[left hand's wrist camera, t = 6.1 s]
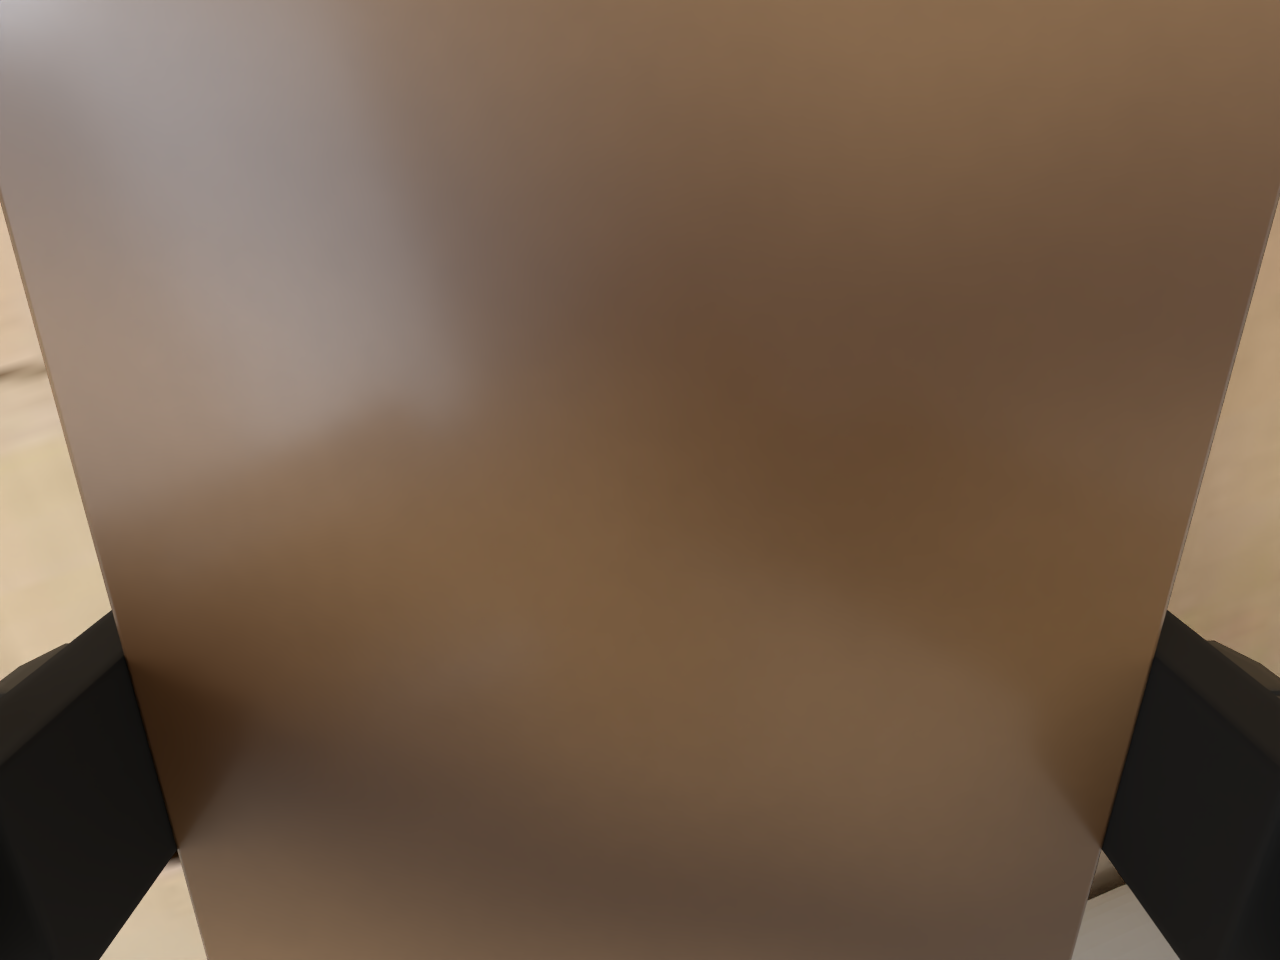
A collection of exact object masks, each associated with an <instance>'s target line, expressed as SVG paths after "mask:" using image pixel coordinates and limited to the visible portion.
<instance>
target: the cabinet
mask: <svg viewBox="0 0 1280 960" xmlns="http://www.w3.org/2000/svg"><path fill="white" fill-rule="evenodd" d="M1279 197H1280V0H0V202H1V206H2V209H3V213H4V217H5V220H6V224H7V228H8V231H9V235H10V239H11V242H12V246H13V250H14V253H15V257H16V261H17V264H18V268H19V272H20V275H21V279H22V283H23V286H24V290H25V294H26V297H27V301H28V305H29V308H30V312H31V316H32V319H33V323H34V327H35V330H36V334H37V338H38V341H39V345H40V349H41V352H42V356H43V359H44V363H45V367H46V370H47V374H48V378H49V381H50V385H51V389H52V392H53V396H54V400H55V403H56V407H57V411H58V414H59V418H60V422H61V425H62V429H63V433H64V436H65V440H66V444H67V447H68V451H69V455H70V458H71V462H72V466H73V469H74V473H75V477H76V480H77V484H78V488H79V491H80V495H81V499H82V502H83V506H84V510H85V513H86V517H87V521H88V524H89V528H90V532H91V535H92V539H93V542H94V546H95V550H96V553H97V557H98V561H99V564H100V568H101V572H102V575H103V579H104V583H105V586H106V590H107V594H108V597H109V601H110V605H111V608H112V612H113V616H114V619H115V623H116V627H117V630H118V634H119V638H120V641H121V645H122V649H123V652H124V656H125V660H126V663H127V667H128V671H129V674H130V678H131V682H132V685H133V689H134V693H135V696H136V700H137V704H138V707H139V711H140V714H141V718H142V722H143V725H144V729H145V733H146V736H147V740H148V744H149V747H150V751H151V755H152V758H153V762H154V766H155V769H156V773H157V777H158V780H159V784H160V788H161V791H162V795H163V799H164V802H165V806H166V810H167V813H168V817H169V821H170V824H171V828H172V832H173V835H174V839H175V843H176V846H177V850H178V854H179V857H180V861H181V865H182V868H183V872H184V876H185V879H186V883H187V887H188V890H189V894H190V897H191V901H192V905H193V908H194V912H195V916H196V919H197V923H198V927H199V930H200V934H201V938H202V941H203V945H204V949H205V952H206V956H207V960H1071V959H1072V955H1073V952H1074V948H1075V944H1076V941H1077V937H1078V933H1079V930H1080V926H1081V922H1082V919H1083V915H1084V912H1085V908H1086V904H1087V901H1088V897H1089V893H1090V890H1091V886H1092V882H1093V879H1094V875H1095V871H1096V868H1097V864H1098V860H1099V857H1100V853H1101V849H1102V846H1103V842H1104V838H1105V835H1106V831H1107V827H1108V824H1109V820H1110V816H1111V813H1112V809H1113V805H1114V802H1115V798H1116V794H1117V791H1118V787H1119V783H1120V780H1121V776H1122V772H1123V769H1124V765H1125V761H1126V758H1127V754H1128V750H1129V747H1130V743H1131V739H1132V736H1133V732H1134V728H1135V725H1136V721H1137V717H1138V714H1139V710H1140V706H1141V703H1142V699H1143V695H1144V692H1145V688H1146V684H1147V681H1148V677H1149V673H1150V670H1151V666H1152V662H1153V659H1154V655H1155V651H1156V648H1157V644H1158V640H1159V637H1160V633H1161V629H1162V626H1163V622H1164V618H1165V615H1166V611H1167V607H1168V604H1169V600H1170V596H1171V593H1172V589H1173V585H1174V582H1175V578H1176V574H1177V571H1178V567H1179V563H1180V560H1181V556H1182V552H1183V549H1184V545H1185V541H1186V538H1187V534H1188V530H1189V527H1190V523H1191V519H1192V516H1193V512H1194V508H1195V505H1196V501H1197V497H1198V494H1199V490H1200V486H1201V483H1202V479H1203V475H1204V472H1205V468H1206V464H1207V461H1208V457H1209V453H1210V450H1211V446H1212V442H1213V439H1214V435H1215V431H1216V428H1217V424H1218V420H1219V417H1220V413H1221V409H1222V406H1223V402H1224V398H1225V395H1226V391H1227V387H1228V384H1229V380H1230V376H1231V373H1232V369H1233V366H1234V362H1235V358H1236V355H1237V351H1238V347H1239V344H1240V340H1241V336H1242V333H1243V329H1244V325H1245V322H1246V318H1247V314H1248V311H1249V307H1250V303H1251V300H1252V296H1253V292H1254V289H1255V285H1256V281H1257V278H1258V274H1259V270H1260V267H1261V263H1262V259H1263V256H1264V252H1265V248H1266V245H1267V241H1268V237H1269V234H1270V230H1271V226H1272V223H1273V219H1274V215H1275V212H1276V208H1277V204H1278V201H1279Z"/></svg>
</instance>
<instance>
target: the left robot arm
mask: <svg viewBox="0 0 1280 960" xmlns="http://www.w3.org/2000/svg"><path fill="white" fill-rule="evenodd" d="M176 850H177V846H176V843H175V839H174V835H173V832H172V828H171V824H170V821H169V817H168V813H167V810H166V806H165V802H164V799H163V795H162V791H161V788H160V784H159V780H158V777H157V773H156V769H155V766H154V762H153V758H152V755H151V751H150V747H149V744H148V740H147V736H146V733H145V729H144V725H143V722H142V718H141V714H140V711H139V707H138V704H137V700H136V696H135V693H134V689H133V685H132V682H131V678H130V674H129V671H128V667H127V663H126V660H125V656H124V652H123V649H122V645H121V641H120V638H119V634H118V630H117V627H116V623H115V619H114V616H113V612H112V610H111V611H110V612H109V613H107V614H106V615H105V616H104V617H102V618H101V619H100V620H99V621H97V622H96V623H95V624H93V625H92V626H91V627H90V628H88V629H87V630H86V631H85V632H83V633H82V634H81V635H79V636H78V637H77V638H76V639H74V640H73V641H72V642H71V643H69V644H64V645H62V646H60V647H58V648H56V649H54V650H52V651H50V652H48V653H46V654H44V655H42V656H40V657H38V658H36V659H34V660H32V661H30V662H28V663H26V664H24V665H22V666H20V667H18V668H17V669H16V670H14V671H13V672H12V673H10V674H9V675H8V676H6V677H5V678H4V679H2V680H1V681H0V960H99V959H100V958H101V956H102V955H103V954H104V952H105V951H106V949H107V948H108V946H109V945H110V944H111V942H112V941H113V939H114V938H115V937H116V935H117V934H118V932H119V931H120V929H121V928H122V927H123V925H124V924H125V922H126V921H127V920H128V918H129V917H130V915H131V914H132V912H133V911H134V910H135V908H136V907H137V905H138V904H139V903H140V901H141V900H142V898H143V897H144V895H145V894H146V893H147V891H148V890H149V888H150V887H151V886H152V884H153V883H154V881H155V880H156V878H157V877H158V876H159V874H160V873H161V871H162V870H163V869H164V867H165V866H166V864H167V863H168V861H169V860H170V859H171V857H172V856H173V854H174V853H175V852H176ZM1102 850H1103V851H1104V853H1105V854H1106V856H1107V857H1108V858H1109V860H1110V861H1111V863H1112V864H1113V866H1114V867H1115V868H1116V870H1117V871H1118V873H1119V874H1120V875H1121V877H1122V878H1123V880H1124V881H1125V883H1126V884H1127V885H1128V887H1129V888H1130V890H1131V891H1132V892H1133V894H1134V895H1135V897H1136V898H1137V900H1138V901H1139V902H1140V904H1141V905H1142V907H1143V908H1144V909H1145V911H1146V912H1147V914H1148V915H1149V917H1150V918H1151V919H1152V921H1153V922H1154V924H1155V925H1156V926H1157V928H1158V929H1159V931H1160V932H1161V934H1162V935H1163V936H1164V938H1165V939H1166V941H1167V942H1168V943H1169V945H1170V946H1171V948H1172V949H1173V951H1174V952H1175V953H1176V955H1177V956H1178V958H1179V959H1180V960H1280V678H1279V677H1278V676H1276V675H1275V674H1274V673H1272V672H1271V671H1270V670H1268V669H1267V668H1266V667H1264V666H1263V665H1262V664H1260V663H1258V662H1256V661H1254V660H1252V659H1250V658H1248V657H1246V656H1244V655H1242V654H1240V653H1238V652H1236V651H1234V650H1232V649H1230V648H1228V647H1226V646H1224V645H1222V644H1220V643H1218V642H1216V641H1206V640H1205V639H1203V638H1202V637H1201V636H1200V635H1198V634H1197V633H1196V632H1194V631H1193V630H1192V629H1191V628H1189V627H1188V626H1187V625H1186V624H1184V623H1183V622H1182V621H1180V620H1179V619H1178V618H1177V617H1175V616H1174V615H1173V614H1172V613H1170V612H1169V611H1168V610H1167V611H1166V615H1165V618H1164V622H1163V626H1162V629H1161V633H1160V637H1159V640H1158V644H1157V648H1156V651H1155V655H1154V659H1153V662H1152V666H1151V670H1150V673H1149V677H1148V681H1147V684H1146V688H1145V692H1144V695H1143V699H1142V703H1141V706H1140V710H1139V714H1138V717H1137V721H1136V725H1135V728H1134V732H1133V736H1132V739H1131V743H1130V747H1129V750H1128V754H1127V758H1126V761H1125V765H1124V769H1123V772H1122V776H1121V780H1120V783H1119V787H1118V791H1117V794H1116V798H1115V802H1114V805H1113V809H1112V813H1111V816H1110V820H1109V824H1108V827H1107V831H1106V835H1105V838H1104V842H1103V846H1102Z"/></svg>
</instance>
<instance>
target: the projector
mask: <svg viewBox="0 0 1280 960" xmlns="http://www.w3.org/2000/svg"><path fill="white" fill-rule="evenodd" d="M1071 960H1180V959H1179V958H1178V956H1177V955H1176V953H1175V952H1174V951H1173V949H1172V948H1171V946H1170V945H1169V943H1168V942H1167V941H1166V939H1165V938H1164V936H1163V935H1162V934H1161V932H1160V931H1159V929H1158V928H1157V926H1156V925H1155V924H1154V922H1153V921H1152V919H1151V918H1150V917H1149V915H1148V914H1147V912H1146V911H1145V909H1144V908H1143V907H1142V905H1141V904H1140V902H1139V901H1138V900H1137V898H1136V897H1135V895H1134V894H1133V892H1132V891H1131V890H1130V888H1129V887H1128V885H1127V884H1125V885H1123V886H1120V887H1117V888H1115V889H1113V890H1111V891H1108V892H1106V893H1104V894H1102V895H1099V896H1097V897H1095V898H1093V899H1090V900H1088V901H1087V904H1086V908H1085V912H1084V915H1083V919H1082V922H1081V926H1080V930H1079V933H1078V937H1077V941H1076V944H1075V948H1074V952H1073V955H1072V959H1071Z"/></svg>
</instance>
